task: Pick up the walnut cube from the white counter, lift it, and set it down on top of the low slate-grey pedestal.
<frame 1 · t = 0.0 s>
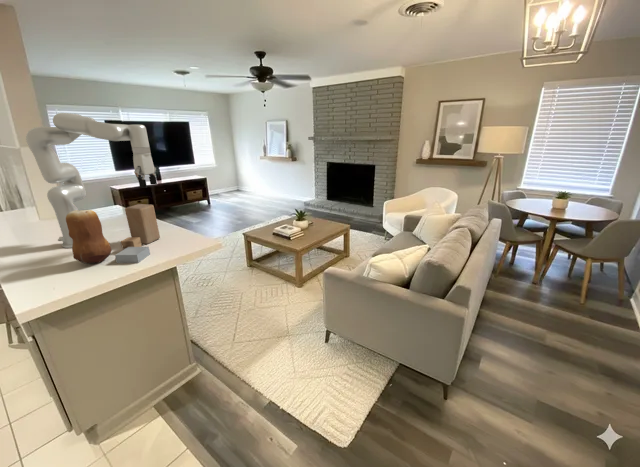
hand: (148, 185, 147), 31 cm above the table, fingers open, 9 cm apart
block: (147, 241, 160), on the table
pedestal: (134, 258, 138), on the table
butternut squash: (95, 262, 134), on the table
walnut cube: (133, 250, 148), on the table
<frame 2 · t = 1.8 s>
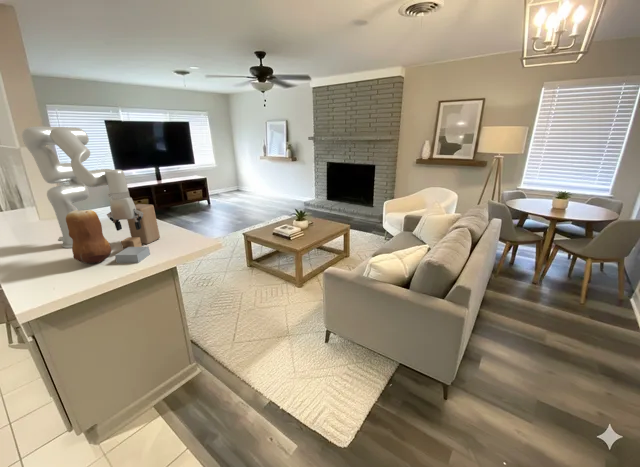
hand: (129, 229, 144), 11 cm above the table, fingers open, 9 cm apart
nothing on the table moved.
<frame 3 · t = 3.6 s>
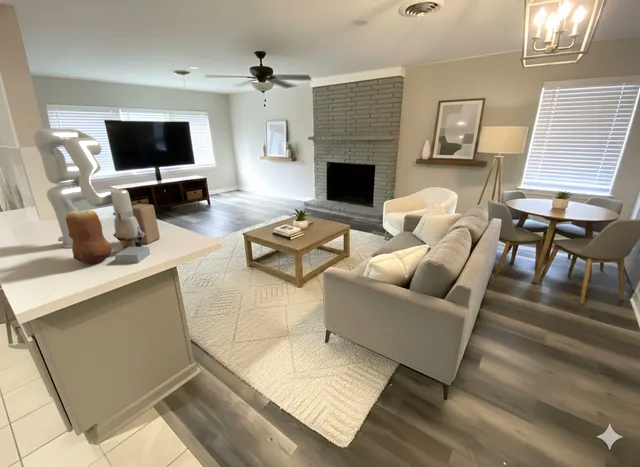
hand: (132, 248, 148), 1 cm above the table, fingers closed on walnut cube, 6 cm apart
walnut cube: (133, 250, 148), on the table, touching gripper
everything else where it was.
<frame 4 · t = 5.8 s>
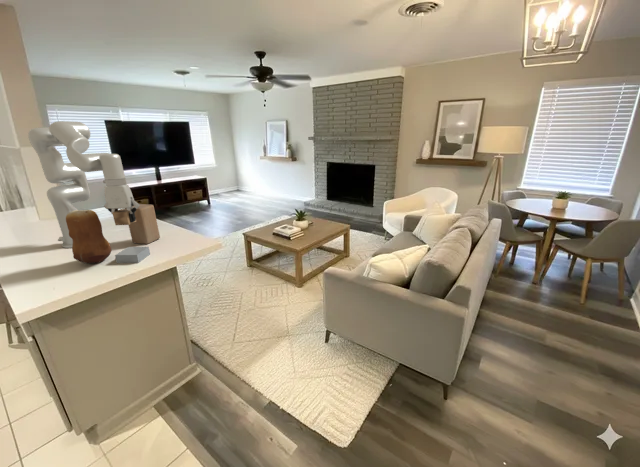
hand: (125, 221, 133), 18 cm above the table, fingers closed on walnut cube, 6 cm apart
walnut cube: (126, 223, 133), point 17 cm above the table, touching gripper
everything else where it was.
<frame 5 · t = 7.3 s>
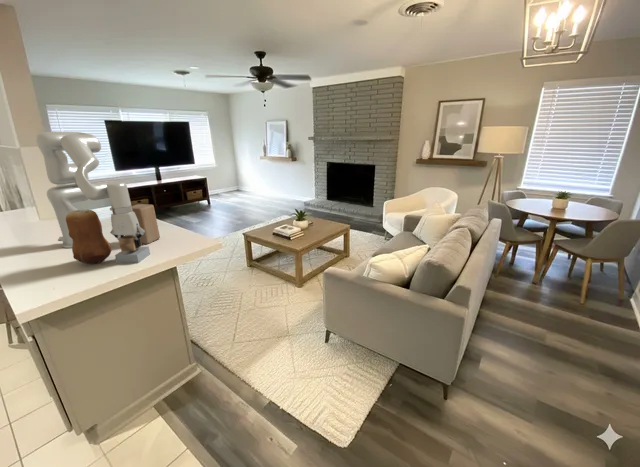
hand: (131, 246, 136), 6 cm above the table, fingers closed on walnut cube, 6 cm apart
walnut cube: (131, 248, 136), point 5 cm above the table, touching gripper
everything else where it was.
when the fingers open (6 cm above the table, at t = 8.2 s): walnut cube stays where it is, resting on pedestal.
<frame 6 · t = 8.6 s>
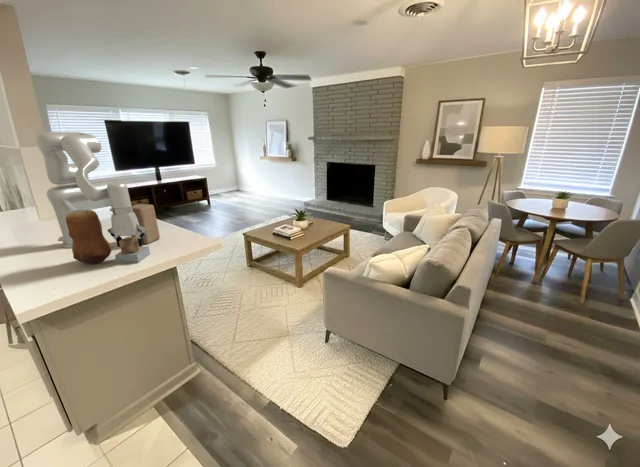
hand: (131, 245, 135), 7 cm above the table, fingers open, 9 cm apart
walnut cube: (132, 250, 136), point 4 cm above the table, touching pedestal
everything else where it was.
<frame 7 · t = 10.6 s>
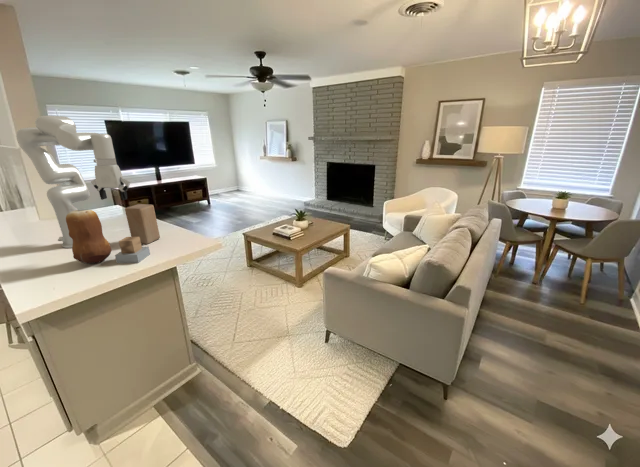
hand: (114, 199, 136), 27 cm above the table, fingers open, 9 cm apart
nothing on the table moved.
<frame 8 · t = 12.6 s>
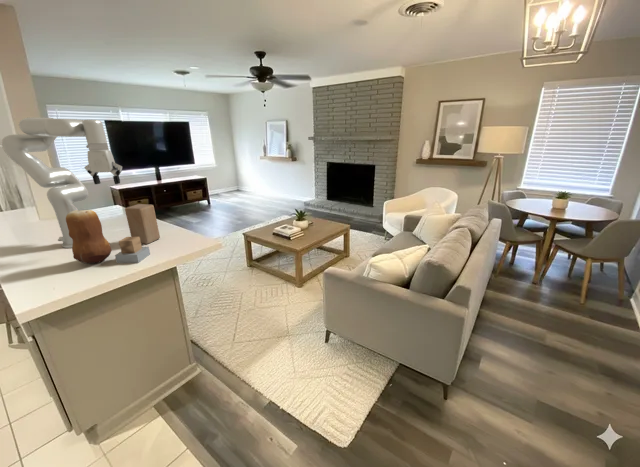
hand: (107, 183, 141), 33 cm above the table, fingers open, 9 cm apart
nothing on the table moved.
at the end: walnut cube inside the target area on the pedestal (0.1 cm from its centre), point 4.0 cm above the pedestal's base; walnut cube tilted 0°; the gripper is holding nothing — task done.
